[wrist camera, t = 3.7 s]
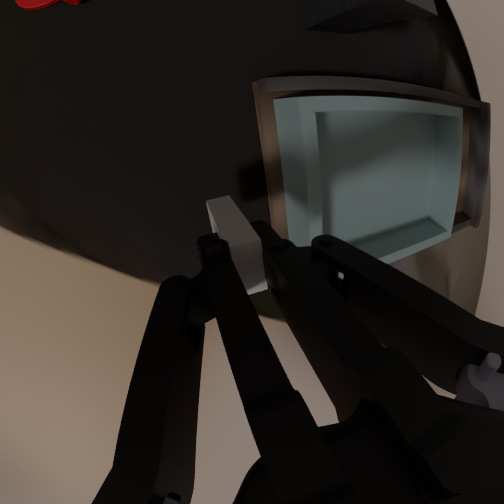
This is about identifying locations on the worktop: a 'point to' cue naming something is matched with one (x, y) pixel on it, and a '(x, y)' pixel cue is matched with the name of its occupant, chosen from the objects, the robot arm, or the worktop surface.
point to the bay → (304, 86)
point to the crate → (370, 171)
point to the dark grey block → (360, 13)
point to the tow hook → (41, 3)
